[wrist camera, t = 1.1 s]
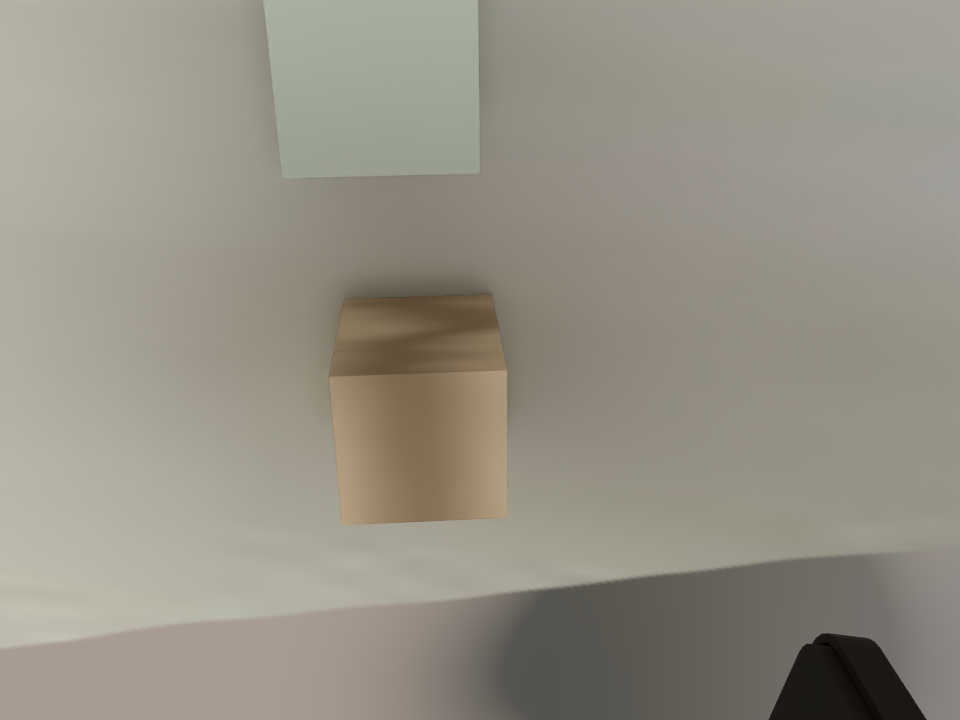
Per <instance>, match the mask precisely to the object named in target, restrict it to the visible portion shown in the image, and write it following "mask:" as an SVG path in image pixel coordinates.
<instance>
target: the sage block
mask: <svg viewBox="0 0 960 720" xmlns="http://www.w3.org/2000/svg"><path fill="white" fill-rule="evenodd" d="M263 3H264V13H265V22H266V32H267V41H268V51H269V60H270V70H271V79H272V89H273V98H274V108H275V117H276V127H277V136H278V146H279V155H280V165H281V174H282V179H291V178H330V177H369V176H408V175H447V174H480V131H479V41H478V0H263Z"/></svg>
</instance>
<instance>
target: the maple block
mask: <svg viewBox="0 0 960 720" xmlns="http://www.w3.org/2000/svg"><path fill="white" fill-rule="evenodd" d="M329 387H330V398H331V408H332V419H333V430H334V441H335V452H336V462H337V473H338V484H339V495H340V506H341V517H342V525H355V524H377V523H399V522H421V521H444V520H466V519H488V518H507V367H506V362H505V357H504V352H503V347H502V342H501V337H500V332H499V327H498V322H497V317H496V312H495V307H494V302H493V297H492V294H485V295H455V296H424V297H393V298H362V299H344V304H343V309H342V314H341V319H340V323H339V328H338V333H337V338H336V343H335V348H334V353H333V358H332V363H331V368H330V373H329Z"/></svg>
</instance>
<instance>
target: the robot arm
mask: <svg viewBox="0 0 960 720" xmlns="http://www.w3.org/2000/svg"><path fill="white" fill-rule="evenodd" d="M769 720H926V718H925V717H924V715H923V714H922V712H921V710H920V709H919V708H918V706H917V704H916V703H915V701H914V700H913V698H912V697H911V695H910V693H909V692H908V690H907V689H906V687H905V686H904V684H903V683H902V681H901V680H900V678H899V676H898V675H897V673H896V672H895V670H894V669H893V667H892V666H891V664H890V663H889V661H888V659H887V658H886V656H885V655H884V653H883V652H882V650H881V649H880V647H879V646H878V645H877V644H876V643H875V642H874V641H872V640H871V639H868V638H862V637H853V636H845V635H837V634H828V633H827V634H821V635H820V636H818V637H817V638H816V639H815V640H814V642H813V644H806V645H805V646H803V647H802V649H801V650H800V652H799V654H798V656H797V658H796V660H795V663H794V665H793V667H792V669H791V671H790V674H789V676H788V678H787V680H786V683H785V685H784V687H783V689H782V691H781V694H780V696H779V698H778V700H777V702H776V705H775V707H774V709H773V711H772V714H771V716H770V718H769Z"/></svg>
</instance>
